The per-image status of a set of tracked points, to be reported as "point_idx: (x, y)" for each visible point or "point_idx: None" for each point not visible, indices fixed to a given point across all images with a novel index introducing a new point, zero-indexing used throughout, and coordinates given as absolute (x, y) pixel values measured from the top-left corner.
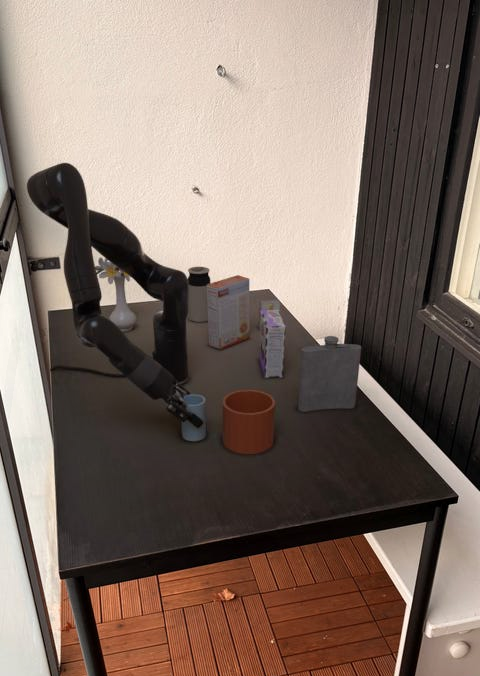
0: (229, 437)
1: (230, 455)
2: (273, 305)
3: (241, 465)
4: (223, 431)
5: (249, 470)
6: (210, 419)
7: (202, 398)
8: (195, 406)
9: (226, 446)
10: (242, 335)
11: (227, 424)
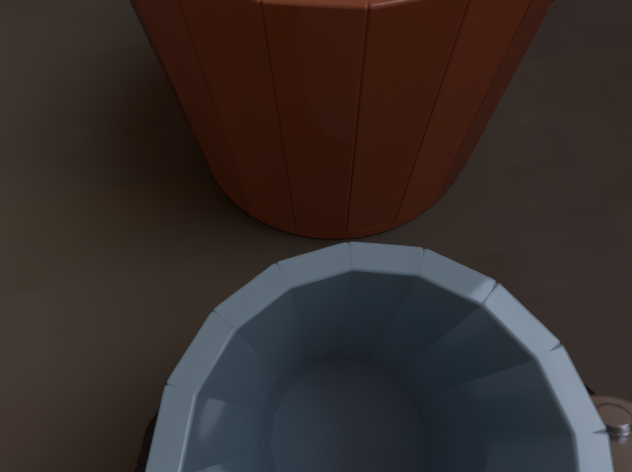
0: (479, 136)
1: (503, 173)
2: None
3: (573, 111)
4: (419, 181)
5: (599, 75)
6: (99, 368)
7: (268, 308)
8: (566, 359)
9: (436, 200)
10: None
11: (500, 84)
